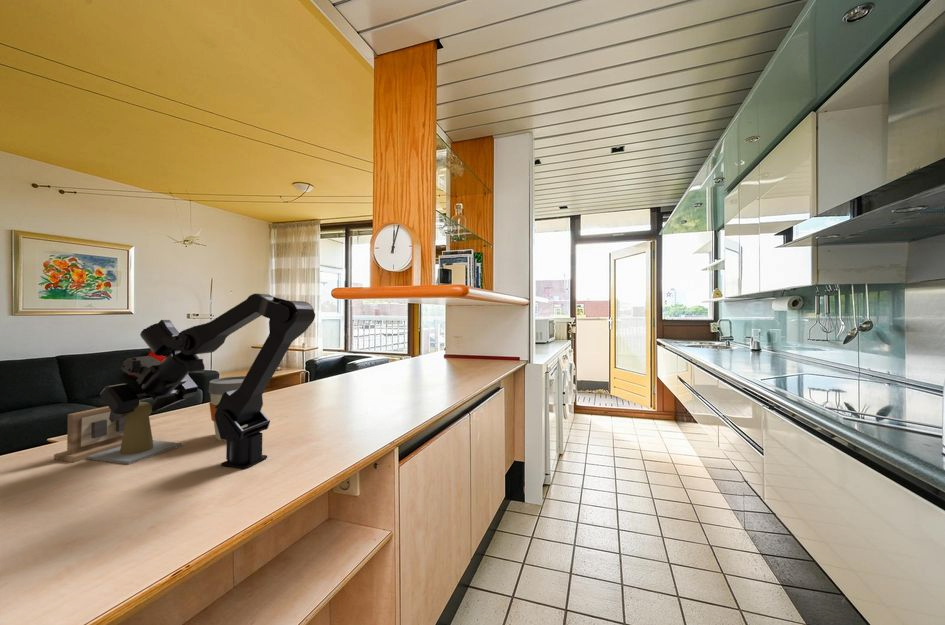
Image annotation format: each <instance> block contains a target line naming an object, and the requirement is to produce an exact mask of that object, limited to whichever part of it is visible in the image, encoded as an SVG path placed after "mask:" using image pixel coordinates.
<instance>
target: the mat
mask: <svg viewBox="0 0 945 625" xmlns="http://www.w3.org/2000/svg"><path fill="white" fill-rule="evenodd" d="M153 445H154V448H152V449H150V450H148V451H145V452H141V453H135V454H120V449H121V446H120V447H117V448H113V449H110V450H107V451H103V452H100V453H97V454H93V455H90V456H87V460H90V459H93V461H98V460H100V461H99V462H106V461H109V462H108V463H115V464H123V463H124V464H123V465H130V464H134V463H137V462H140V461H142V459H143V460H145V458H146V459H147V458H151V457H154V456H157V455H160V454H162V452H163V453H164V452H165V451H166V452H168V451H170V449H171V450H174V449H176V447H177V448H179V446H180V447H182V446H183V442H173V441H164V440H155V439H153ZM173 448H174V449H173ZM167 450H168V451H167ZM159 453H160V454H159ZM156 454H157V455H156ZM153 455H154V456H153ZM150 456H151V457H150ZM139 460H140V461H139ZM136 461H137V462H136Z"/></svg>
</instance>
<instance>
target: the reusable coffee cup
mask: <svg viewBox="0 0 945 625" xmlns="http://www.w3.org/2000/svg"><path fill="white" fill-rule="evenodd" d="M245 376H246V375H239V376H227V377H220V378H216V379H215V378H214V379H211V380H210V381H209V386H208V391H207V392H208V394H209V395H210V396H209V398H210V402H209V403H208V404H209V411H210V417H211V418H210V419H211V421H213V425H214V434H215V439H216V440H217V439H218V441H222V440H223V439H221V438H220V434H219V431H218V428H217V424H216V421H215V417H214V416H215V412H216V410H217V408H215V406H217V405H218V403H219V402H220V400H221V397H222V395H223V394H224V392H227V391H231V390H236V389H238V388H239V387H240V385H241V383H242V382H243V380H244V378H245ZM247 426H248V424H246V425H244V426H241V428H244V427H247ZM224 441H225V442H227V441H226V440H224Z"/></svg>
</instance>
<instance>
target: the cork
mask: <svg viewBox="0 0 945 625" xmlns="http://www.w3.org/2000/svg"><path fill="white" fill-rule="evenodd" d="M152 406H153V405H152V404H151V403H150V402H146V401H140V402H139V405H138V406H137V408H135V409H134V411H133V412H131V413H130V414H128V415H126V416H124V417H125V418H126V421H125V427H124V432H123V438H122V443H121V449H120V454H135V453H141V452H145V451H148V450H150V449H152V448H154V445H153V440H154V439H153V434H152V433H153V432H152V427H151V420H150V415H151V413H153V412H152Z"/></svg>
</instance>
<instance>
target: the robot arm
mask: <svg viewBox="0 0 945 625" xmlns="http://www.w3.org/2000/svg"><path fill="white" fill-rule="evenodd" d="M261 316H262V317H264V318H267V319H269V320H268V328H269V329H268V330H269V333H268V336H267V337H266V339H265V341H264V343H263V345H262V346H261V348H260V350H259V352H258V354H257V355H256V357H255V359H254V361H253V363H252V364H251V366H250V367H249V370H248V371H247V373H246V374H245V375H244V376H245V378H244V380H243V382H242V383H241V385H240V387H239V388H238V389H236V390H231V391H227V392H224V394H223V395H222V397H221V400H220V402H219V403H218V405H217V406H215V408H217V410H216V412H215V416H214V417H215V421H216V424H217V428H218V431H219V434H220V438H221V439H223V440H226V441H225V442H226V449H225V450H226V455H225V456H226V457H225V459H226V460H225V461H222V462H221V464H220V466H221V467H222V466H223V467H229V468H231V467H232V468H239V469H240V468H241V469H246V468H247V469H248V468H249V467H252V466H254V465H255V464H258V463H259V462H261V461H264V460H265V459H267V458H268V455H267V454H263V431H265V430H268V428H269V427H270V423H271V420H270V419H269V417H267V415H266V414H265V413H264V412H263V411H262V408H263V406H264V402H263V401H264V399H263V394H264V392H265V390H266V389H267V386H268V385H269V383H270V381H272V378H273V376H274V375H275V373H276V371H277V369H278V368H279V366H280V364H281V362H282V360H283V358H284V357H285V355H286V354H287V352H288V350H289V348H290V346H291V345H292V343H293V342H294V341H295V340H296V339H298V338H300V337H301V335H302V334H304V333H305V332H307V330H308V329H309V328H310V327H311V325H312V324H313V322H314V321H315V318H316V313H315V309H314V308H313V305H312V304H311V303H310V302H308V301H300V300H287V299H284V298H279V297H276V296H273V295H271V294H270V293H269V294H268V293H266V294H265V293H253V294H251V295H249V296H248V297H247V298H245V299H244V300H242V301H241V302H240V303H238V304H236V305H235V306H234V307H232V308H230V309H228V310H227V311H225V312H224V313H222V314H220V315H219V316H218V317H215V318H214V319H212V320H211V321H208V322H205V323H202V324H197V325H193V326H191V327H188V328H186V329H183V330H181V331H180V332H179V331H178V330H177V328H176V327H175V325H174V323H173V322H172V321H171V320H170V319H161V320H160V321H159V322H157V323H154V324H151V325H149V326H147V327H146V328H142V331H141V332H140V334H139V336H140V338H141V339H142V340H143V341H144V342H145V344H146V345H147V347H148V348H149V349H150V350H151V352H152V353H153V354H154V355H155V356H158V357H162V356H163V357H165V358H164V359H163V360H162V361H160V360H159V359H157V358H155V357H154V356H150V355H149V356H148V355H145V356H137V357H136V356H135V357H129V358H127V359H126V360H124V361H123V363H122V365H121V367H120V368H121V371H122V372H124V373H126V374H128V375H134V376H135V377H136V378H137V379H136V382H137V383H138V385H142V386H141V389H135V390H134V389H133V388H132V387H131V386H130V385H129V383H120V384H119V383H118V384H114V385H113V384H112V385H106V386H105V387H104V388H103V389H102V391H101V392H100V393H99V396H100V397H101V399H102V400H103V401H104V403H105V404H106V406H109V408H110V409H111V412H110V417H109V420H110V421H111V422H115V421H117V420H119V419H120V418H122V417H124V416H126V415H128V414H130V413H131V412H133V411H134V409H135V408H137V406H138V405H139V401H140V402H142V401H144V400H149V399H153V400H156V401H155V402H154V403H153V405H151V406H152V412H151V413H156V412H158V411H160V410H163V409H164V408H167V407H169V406H172V405H174V404H177V403H180V402H182V401H184V400H187V399H188V398H191V397H194V396H195V395H196V394H197V393H198V391H199V390H198V388H199V387H198V385H197V384H196V383H195V381H194V380H193V379H192V378H191V377H190V375H189V373H193V372H198V371H199V372H200V371H204V370H205V367H206V366H205V364H204V359H203V358H200V357H199V356H198V355H203V354H212V353H214V352H216V351H217V350H218V349H219V348H221V346H222V345H223V344H224V343H225V341H226V339H227V338H229V336H230V335H232V334H233V333H235V332H236V331H238V330H240V329H242V328H243V327H245V326H246V325H249V324H250V323H251V322H253V321H255V320H256V319H258V318H260V317H261ZM246 424H248V426H247V427H244V428H241V426H244V425H246Z"/></svg>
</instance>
